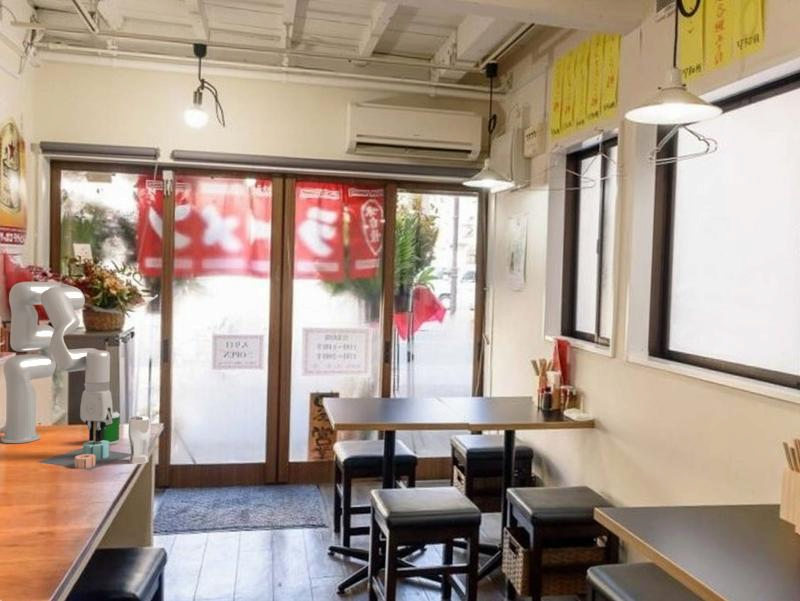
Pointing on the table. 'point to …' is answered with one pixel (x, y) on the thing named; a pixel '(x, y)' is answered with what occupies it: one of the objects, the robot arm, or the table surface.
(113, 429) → the soda can
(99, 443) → the tan wooden dowel
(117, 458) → the mat
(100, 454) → the pale teal gear
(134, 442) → the beer glass
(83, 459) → the bead small
